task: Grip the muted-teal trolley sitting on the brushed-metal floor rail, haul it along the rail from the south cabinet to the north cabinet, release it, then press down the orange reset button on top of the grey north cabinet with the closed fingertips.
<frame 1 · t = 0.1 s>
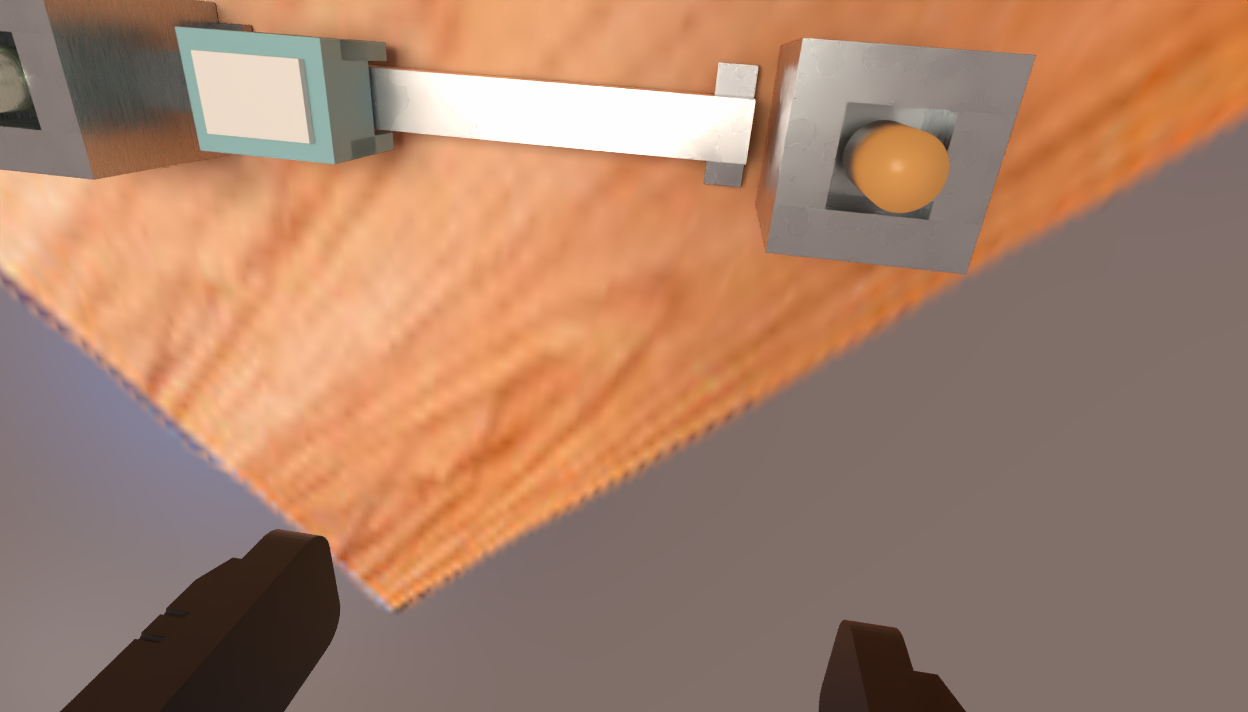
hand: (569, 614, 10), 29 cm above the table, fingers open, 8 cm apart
south cabinet: (166, 75, 37), on the table
rail: (477, 103, 35), on the table
reset button: (891, 163, 24), point 10 cm above the table, slide at 0.0 cm
north cabinet: (844, 135, 33), on the table
carriage: (293, 94, 32), point 5 cm above the table, slide at 0.0 cm
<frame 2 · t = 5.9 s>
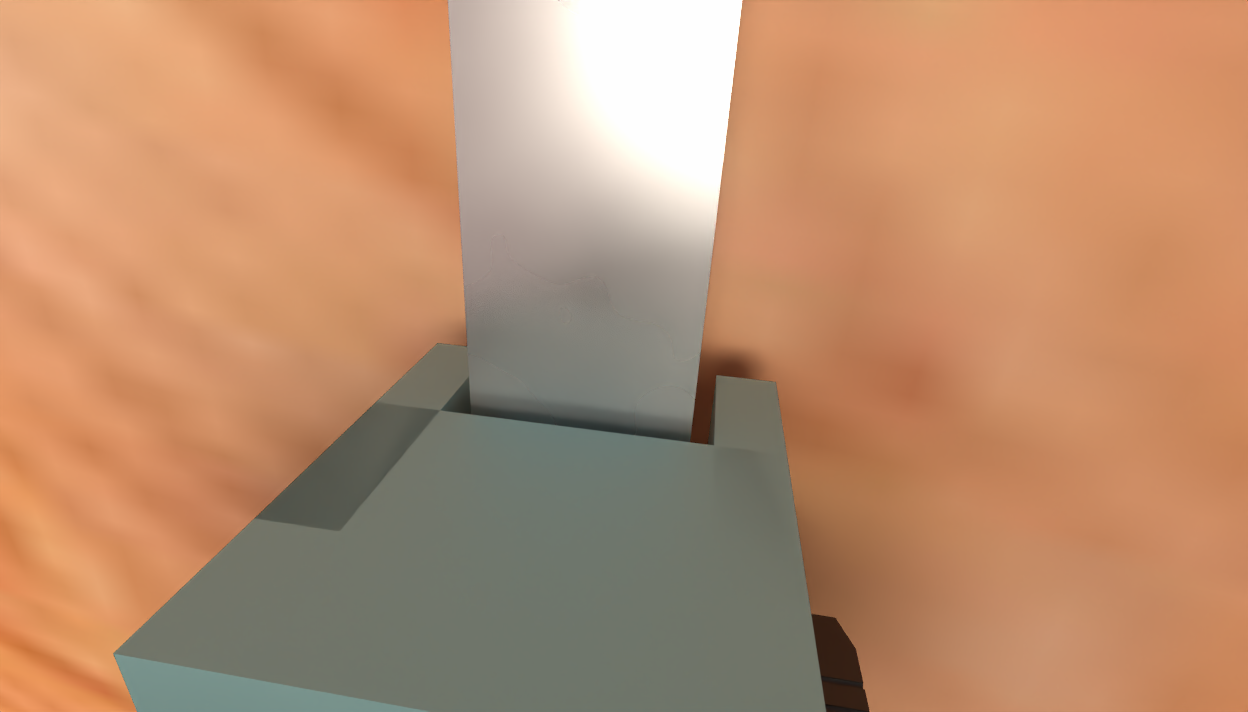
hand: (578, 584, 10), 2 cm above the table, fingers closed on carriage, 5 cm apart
rail: (607, 470, 12), on the table
carriage: (548, 694, 9), point 4 cm above the table, slide at 8.5 cm, touching gripper
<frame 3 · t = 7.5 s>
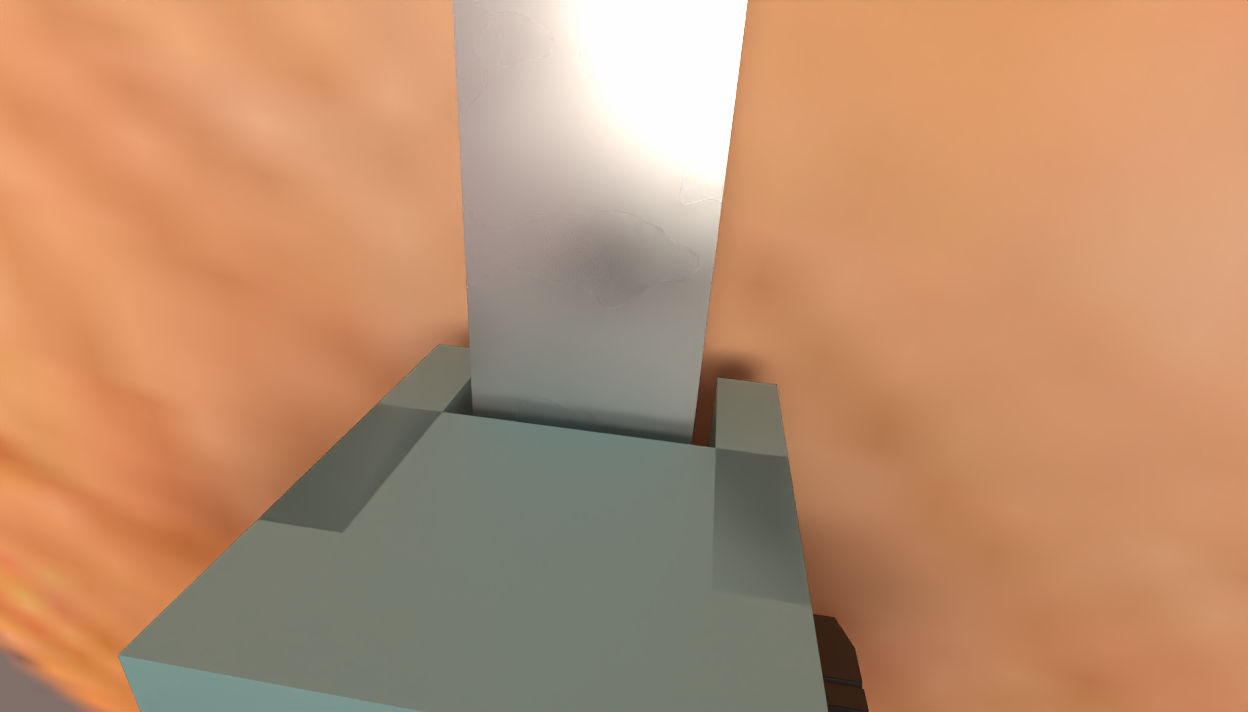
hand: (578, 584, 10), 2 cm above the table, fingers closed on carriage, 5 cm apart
carriage: (549, 695, 9), point 4 cm above the table, slide at 16.8 cm, touching gripper
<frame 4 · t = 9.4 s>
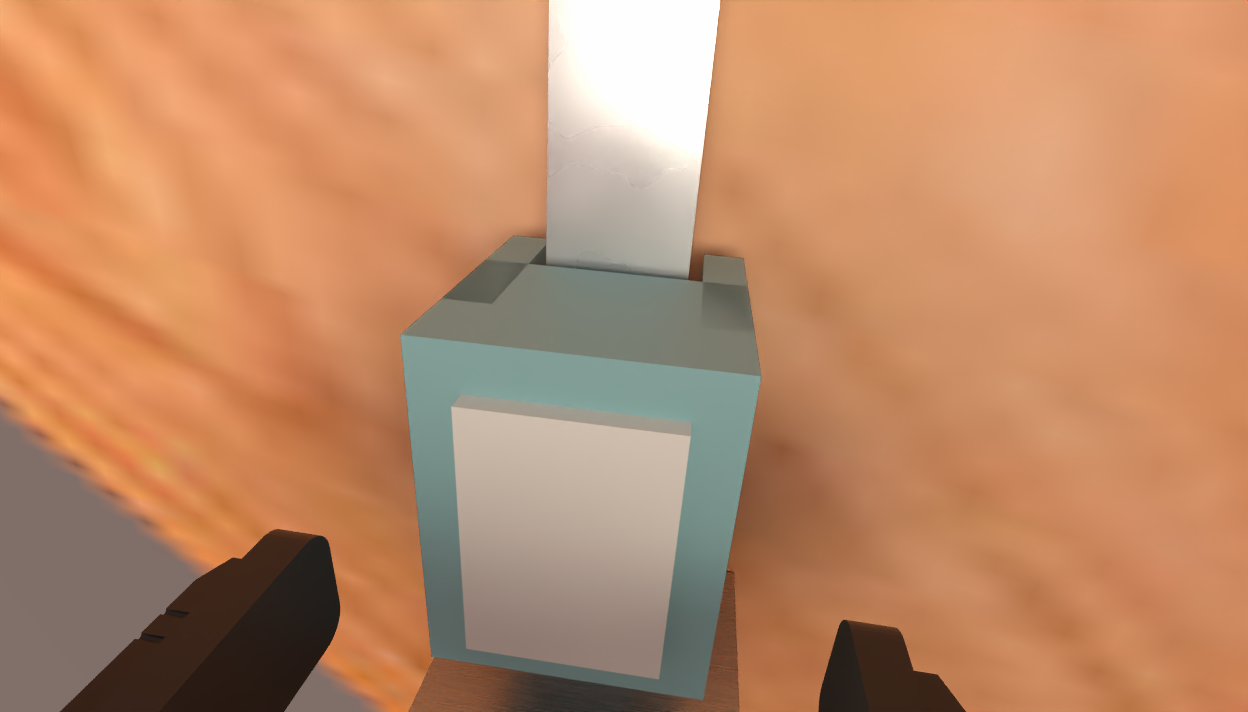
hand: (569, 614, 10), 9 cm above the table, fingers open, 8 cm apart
north cabinet: (603, 642, 22), on the table
carriage: (596, 448, 13), point 4 cm above the table, slide at 16.9 cm
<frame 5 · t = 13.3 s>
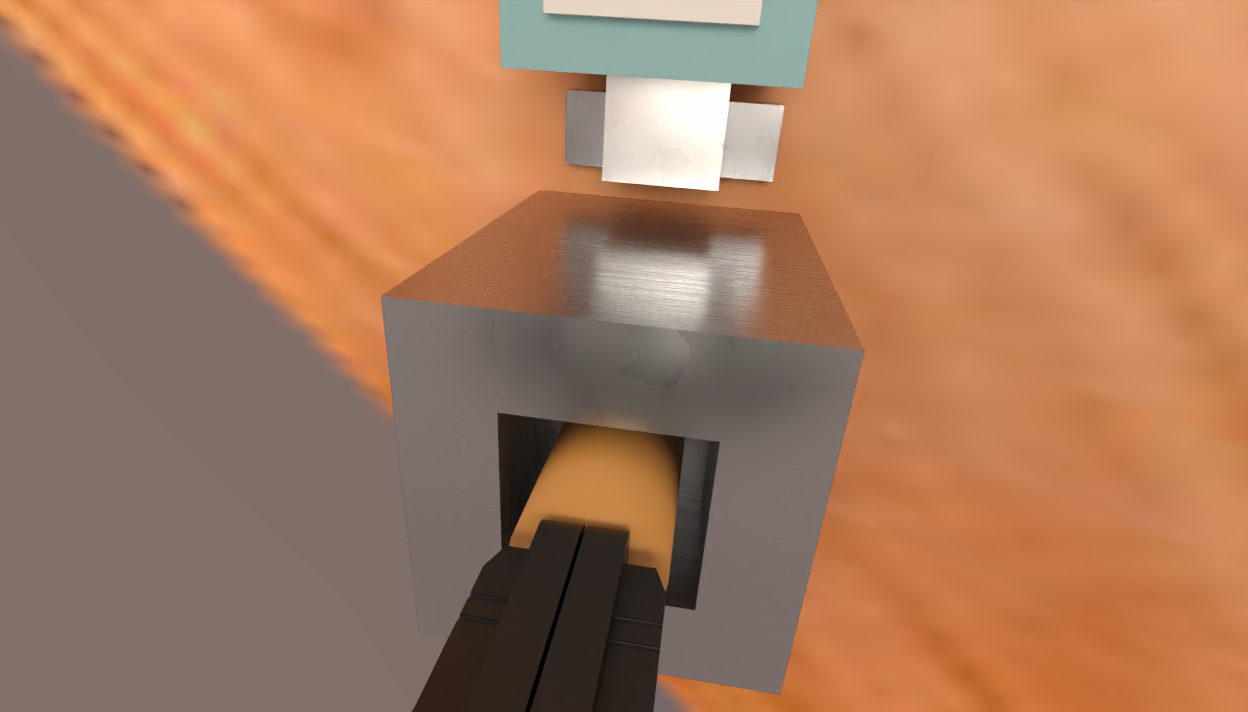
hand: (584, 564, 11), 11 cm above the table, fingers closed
reset button: (608, 490, 13), point 9 cm above the table, slide at 1.2 cm, touching gripper
north cabinet: (655, 323, 21), on the table
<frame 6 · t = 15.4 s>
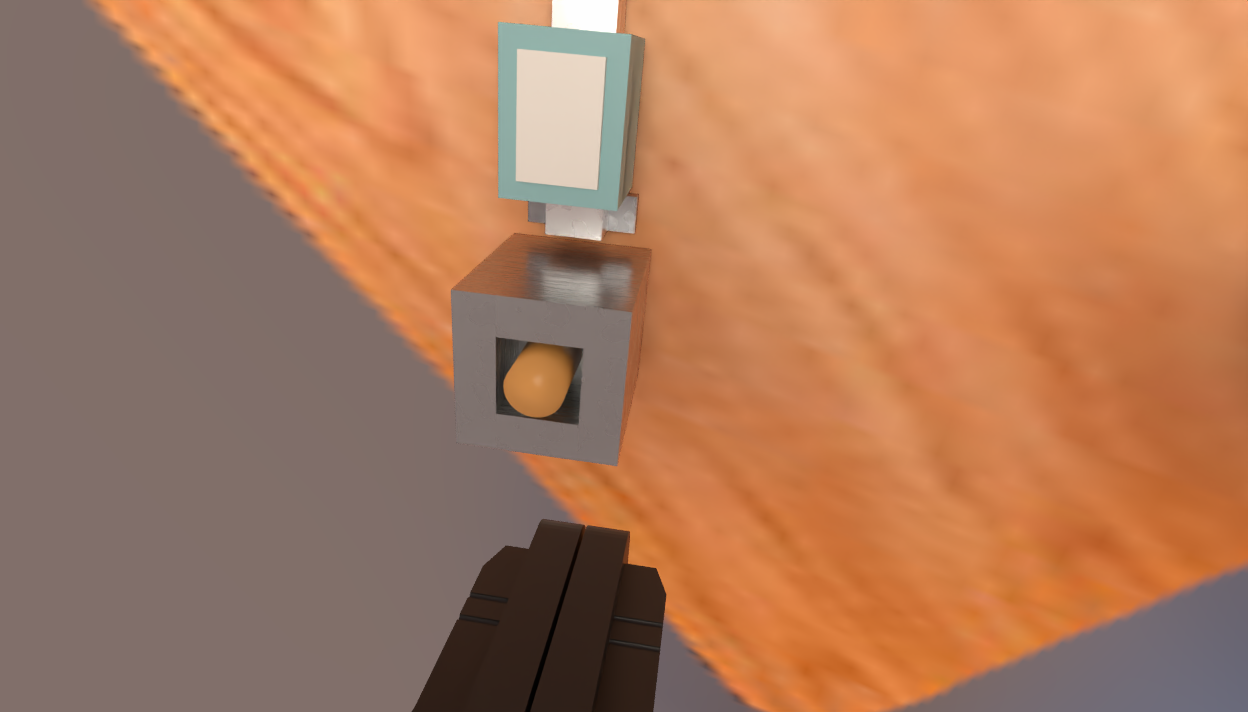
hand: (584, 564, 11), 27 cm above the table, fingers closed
reset button: (545, 369, 30), point 9 cm above the table, slide at 1.7 cm
north cabinet: (578, 306, 38), on the table
carriage: (573, 116, 29), point 4 cm above the table, slide at 16.9 cm
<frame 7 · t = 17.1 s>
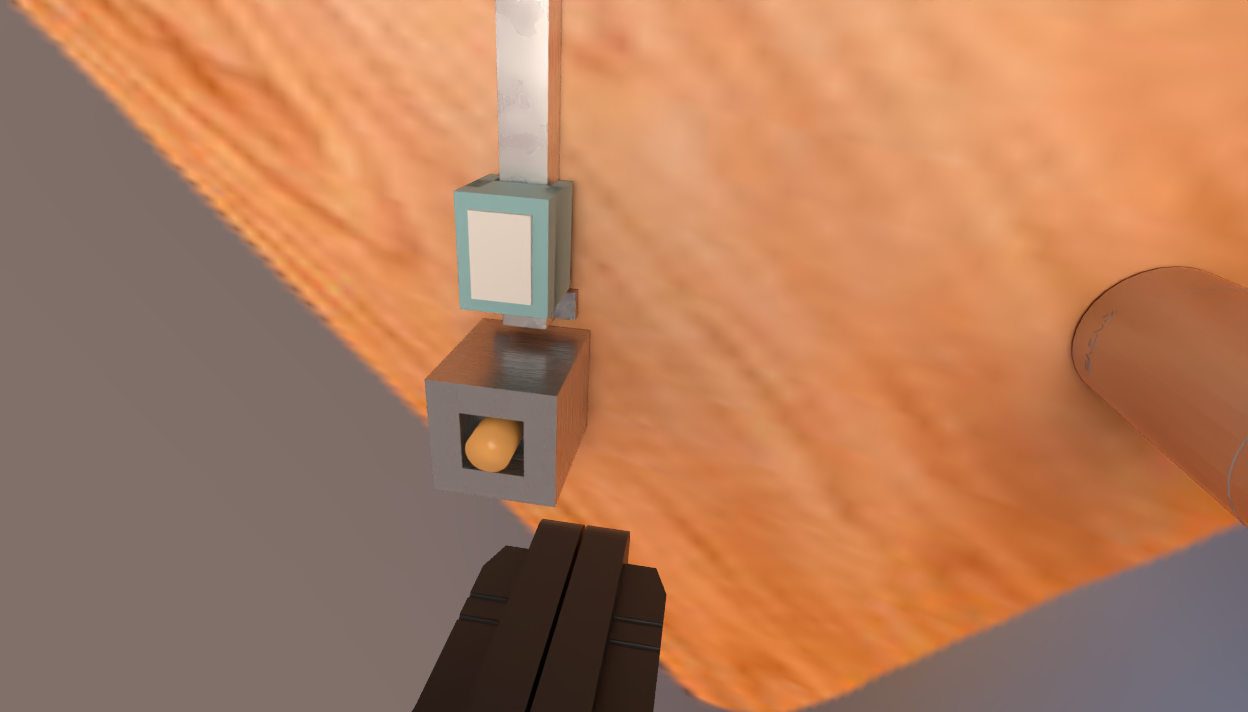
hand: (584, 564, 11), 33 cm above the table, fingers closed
rail: (536, 85, 39), on the table
reset button: (499, 433, 40), point 9 cm above the table, slide at 1.7 cm
north cabinet: (536, 373, 47), on the table
carriage: (516, 244, 39), point 4 cm above the table, slide at 16.9 cm
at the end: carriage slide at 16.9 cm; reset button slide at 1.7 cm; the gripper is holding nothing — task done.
